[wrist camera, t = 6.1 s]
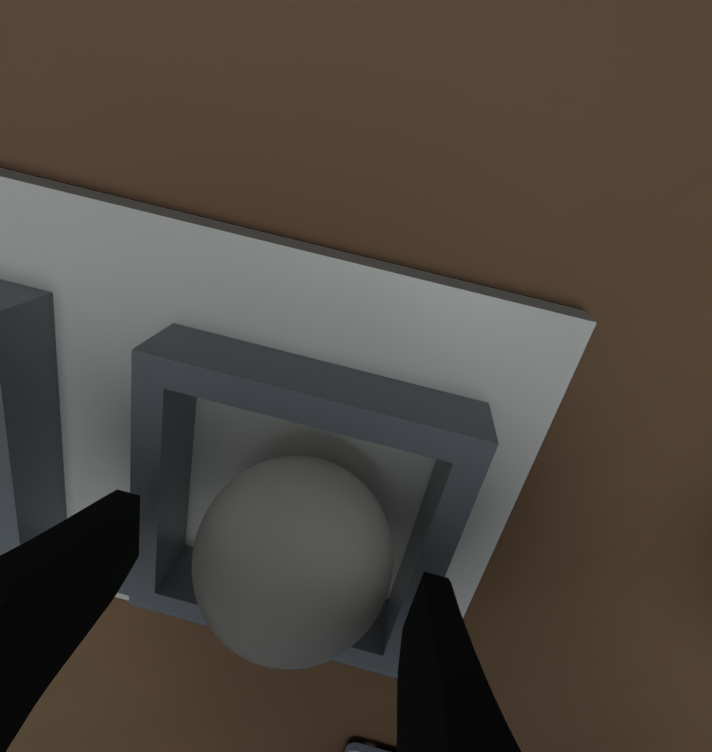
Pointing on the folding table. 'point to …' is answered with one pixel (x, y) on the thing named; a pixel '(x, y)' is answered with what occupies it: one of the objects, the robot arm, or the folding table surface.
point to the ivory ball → (292, 562)
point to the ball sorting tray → (260, 386)
